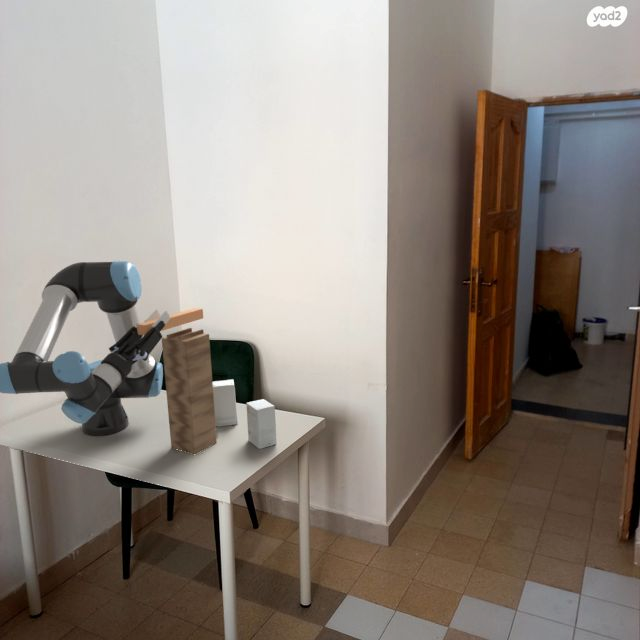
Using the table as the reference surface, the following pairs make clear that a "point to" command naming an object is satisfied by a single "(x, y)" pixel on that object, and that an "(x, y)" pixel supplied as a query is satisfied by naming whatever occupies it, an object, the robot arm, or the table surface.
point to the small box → (261, 423)
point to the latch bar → (172, 320)
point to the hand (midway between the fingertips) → (163, 314)
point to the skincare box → (224, 403)
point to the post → (189, 390)
